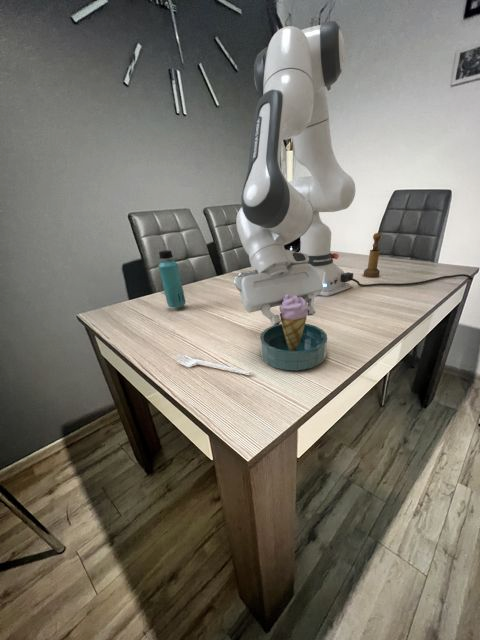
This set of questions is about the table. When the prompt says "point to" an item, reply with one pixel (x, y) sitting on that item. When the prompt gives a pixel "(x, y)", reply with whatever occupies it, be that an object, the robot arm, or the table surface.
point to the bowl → (305, 356)
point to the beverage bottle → (171, 280)
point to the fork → (206, 364)
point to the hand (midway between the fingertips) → (295, 319)
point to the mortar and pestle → (373, 259)
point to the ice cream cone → (293, 319)
